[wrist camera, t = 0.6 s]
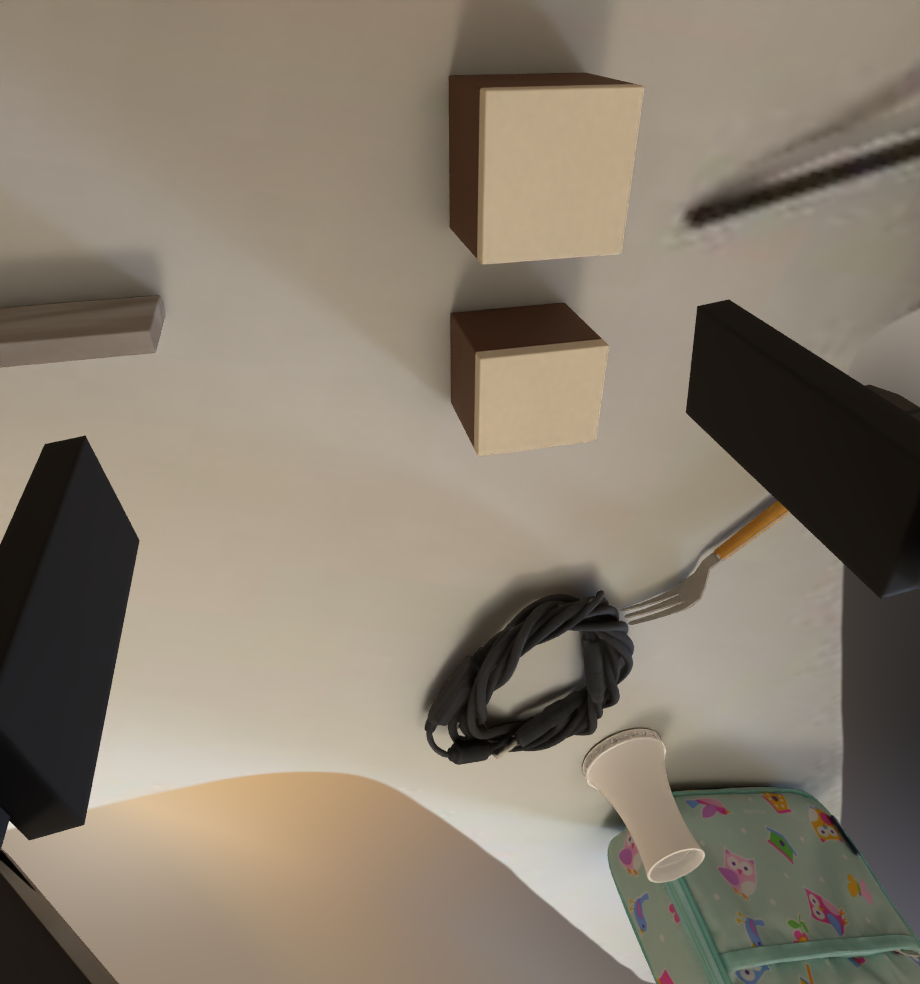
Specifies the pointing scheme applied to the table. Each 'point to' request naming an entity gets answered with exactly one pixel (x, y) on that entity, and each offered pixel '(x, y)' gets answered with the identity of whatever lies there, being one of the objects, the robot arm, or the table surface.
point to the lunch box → (765, 898)
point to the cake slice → (526, 377)
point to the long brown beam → (80, 330)
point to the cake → (541, 164)
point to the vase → (644, 801)
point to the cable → (497, 662)
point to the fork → (707, 569)
